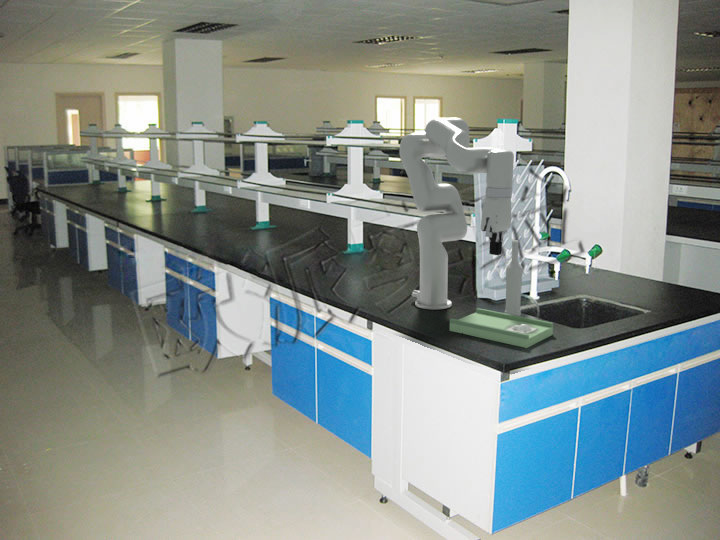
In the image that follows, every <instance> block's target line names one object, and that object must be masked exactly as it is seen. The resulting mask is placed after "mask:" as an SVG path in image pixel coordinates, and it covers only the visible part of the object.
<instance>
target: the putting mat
mask: <svg viewBox="0 0 720 540" xmlns="http://www.w3.org/2000/svg"><path fill="white" fill-rule="evenodd" d="M475 311H476V312H473V313H471V314H469V315H466V316H463V317H461V318H459V319H457V318H449V331H450V332H455V333H459V334H462V333H463V334H464V335H468V336H473V337H477V338H481V339H485V340H489V341H493V342H498V343H502V344H503V343H504V344H508V345H512V346H517V347H519V348H520V347H521V348H525V349H527V348H529V347H531V346H533V345H536V344H537V343H539V342H541V341H543V340H545V339H547V338H549V337H551V336H553V334H554V333H553V332H554V322H552V321H551V322H550V321H547V320H542V319H540V320H539V319H536V318H530V317H525V316H521V315H520V316H516V315H511V314H506V313H505V312H499V311H495V310H489V309H485V308H479V307H477V308H476V310H475ZM521 324H526V325H528V326H529V327H530V329H531V331H528V332H519V331H517V328H518V326H519V325H521Z"/></svg>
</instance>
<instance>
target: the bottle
mask: <svg viewBox="0 0 720 540" xmlns="http://www.w3.org/2000/svg"><path fill="white" fill-rule="evenodd" d="M519 242H520V241H519V240H517V239H515V240H511V261H510V262H509V264H507V265H506V267H505V270H506V272H505V310H504V313H506V314H511V315H516V316H521V315H522V313H521V301H522V285H523V283H522V282H523V266H522V265H521V264H520V263H519V244H520V243H519Z"/></svg>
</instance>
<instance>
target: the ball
mask: <svg viewBox="0 0 720 540" xmlns="http://www.w3.org/2000/svg"><path fill="white" fill-rule="evenodd" d="M517 331H519V332H528V331H531V329H530V327H529V326H528V325H526V324H521V325H519V326H518V328H517Z"/></svg>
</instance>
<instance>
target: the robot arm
mask: <svg viewBox="0 0 720 540" xmlns="http://www.w3.org/2000/svg"><path fill="white" fill-rule="evenodd" d="M470 141H471V139H470V127H469V125H468V123H467V122H466V121H465V120H464V119H463V118H460V117H437V118H433V119H431V120H430V121H428V122H427V124H426V125H425V128H424V131H421V132H420V131H419V132H412V133H409V134H406V135H404V136H403V138H402V139H401V141H400V144H399V158H400V162H401V163H402V166H403V168H404V171H405V173H406V175H407V177H408V182H409V185H410V190H411V193H412V194H411V195H412V197H413V201H414V205H415V208H416V209H417V210H418V211H419V212H420V213H424V214H425V213H436V214H428V215H425V216H423V217H421V218H420V219H419V220H418V222H417V225H416V232H417V236H418V244H419V290H417V289H414V290H413V291H412V292H411V296H412V297H414V298H416V300H415V302H414V304H415V306H416V308H420V309H423V310H433V311H435V310H445V309H449V308H451V307H452V304H453V303H452V301H451V300H449V299H448V282H449V281H448V276H449V275H448V273H449V269H448V268H449V266H448V265H449V264H448V263H449V256H448V251H447V250H446V248H445V246H444V245H443V243H447V242H453V241H454V242H455V241H459V240H462V239H464V238H466V236H467V234H468V233H467V232H468V222H467V219H466V215H465V210H464V207H463V203H462V199H461V196H460V193H459V191H458V189H457V188H456V187H455V186H454V185H452V183H451V184H449V183H437V182H436V180H435V177H434V173H433V171H432V169H431V167H430V166H429V165H428V164H427V163H426V162H425V161H424V160H423V158H442V157H445V158H446V161H447V163H448V164H449V166H451V168H453V169H455V170H456V171H457V172H459V173H461V174H465V175H473V174H474V175H475V174H476V175H477V174H485V175H486V177H485V178H486V179H485V196H484V197H485V198H484V200H483V205H482V213H481V221H480V230H481V231H482V232H485V234H484V237H486V238H488V240H489V255H494V256H501V255H502V251H503V250H502V249H503V241H504V236H505V234H507V232H508V230H509V229H510V228H511V225H512V198H513V197H512V194H513V193H512V192H513V176H514V160H515V159H514V158H515V154H514V153H513V151H511V150H508V149H507V150H505V149H499V148H495V147H470V144H471V143H470ZM469 147H470V148H469ZM439 212H442V213H439Z"/></svg>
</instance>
